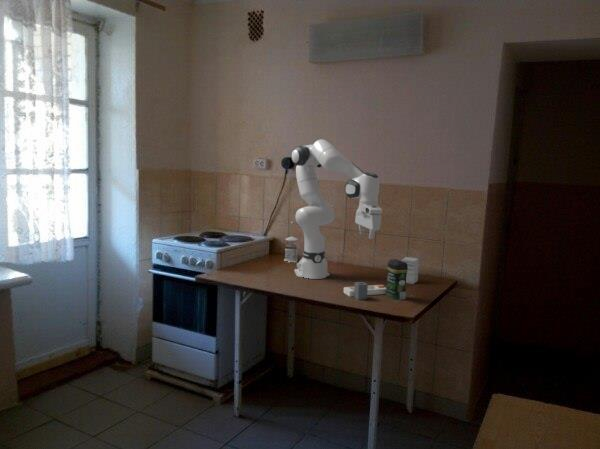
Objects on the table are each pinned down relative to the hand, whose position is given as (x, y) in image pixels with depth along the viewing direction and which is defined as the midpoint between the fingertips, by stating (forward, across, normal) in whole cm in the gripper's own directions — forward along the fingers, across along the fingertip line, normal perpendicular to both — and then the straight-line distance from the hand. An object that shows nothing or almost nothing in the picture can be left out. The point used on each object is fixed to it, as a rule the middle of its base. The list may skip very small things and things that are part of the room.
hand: (366, 236), depth 231 cm
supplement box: (+29, -17, +36) cm, 49 cm away
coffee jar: (+28, +10, +13) cm, 33 cm away
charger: (+28, +8, -5) cm, 30 cm away
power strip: (+29, +1, +1) cm, 29 cm away
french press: (+31, -77, -12) cm, 84 cm away
